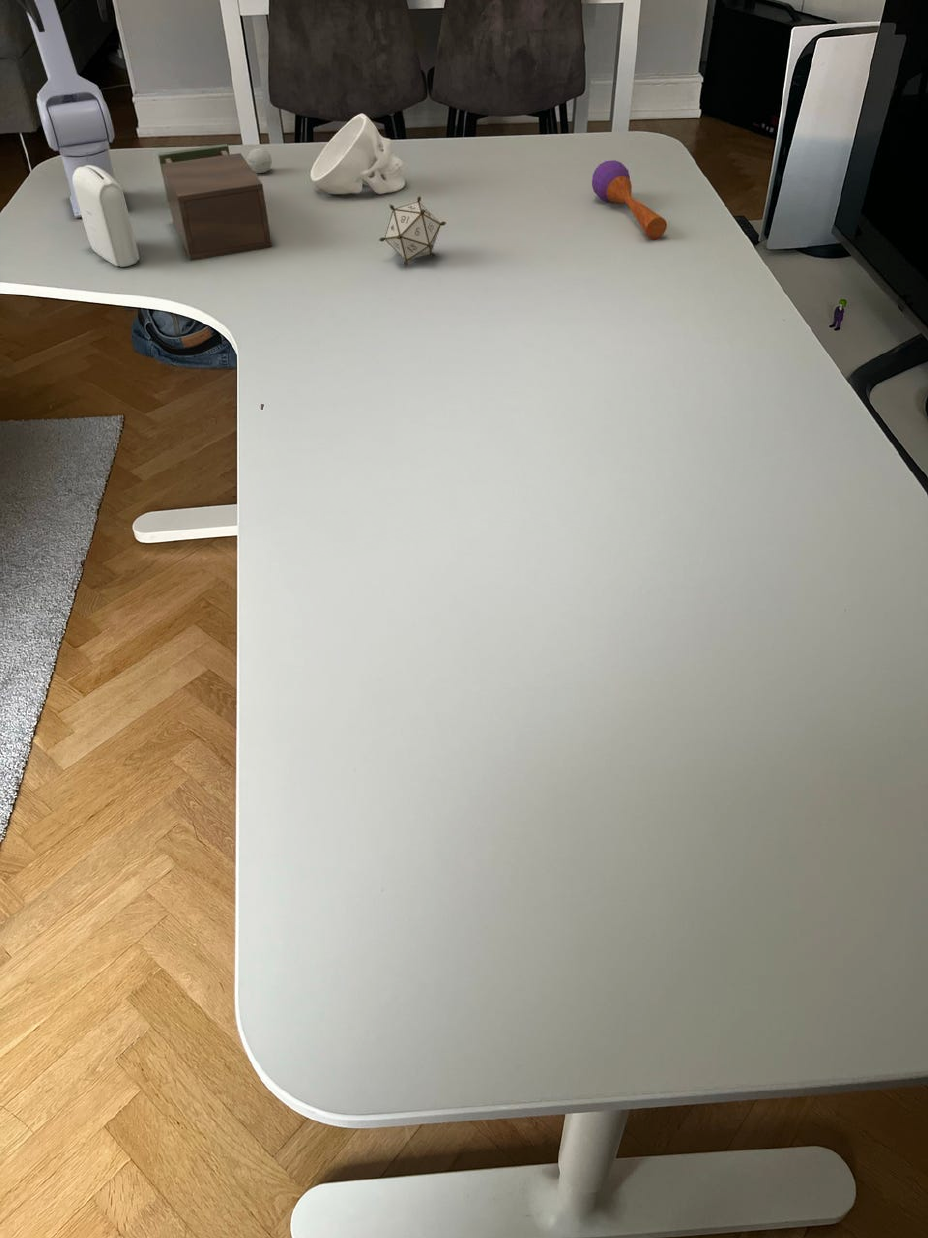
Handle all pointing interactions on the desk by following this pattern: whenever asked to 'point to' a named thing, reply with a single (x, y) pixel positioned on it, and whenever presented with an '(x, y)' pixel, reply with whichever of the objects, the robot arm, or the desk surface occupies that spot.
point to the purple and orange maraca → (625, 196)
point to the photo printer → (105, 215)
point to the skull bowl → (358, 161)
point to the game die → (412, 231)
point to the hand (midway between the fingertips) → (72, 20)
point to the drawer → (192, 155)
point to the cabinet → (217, 205)
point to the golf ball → (259, 160)
